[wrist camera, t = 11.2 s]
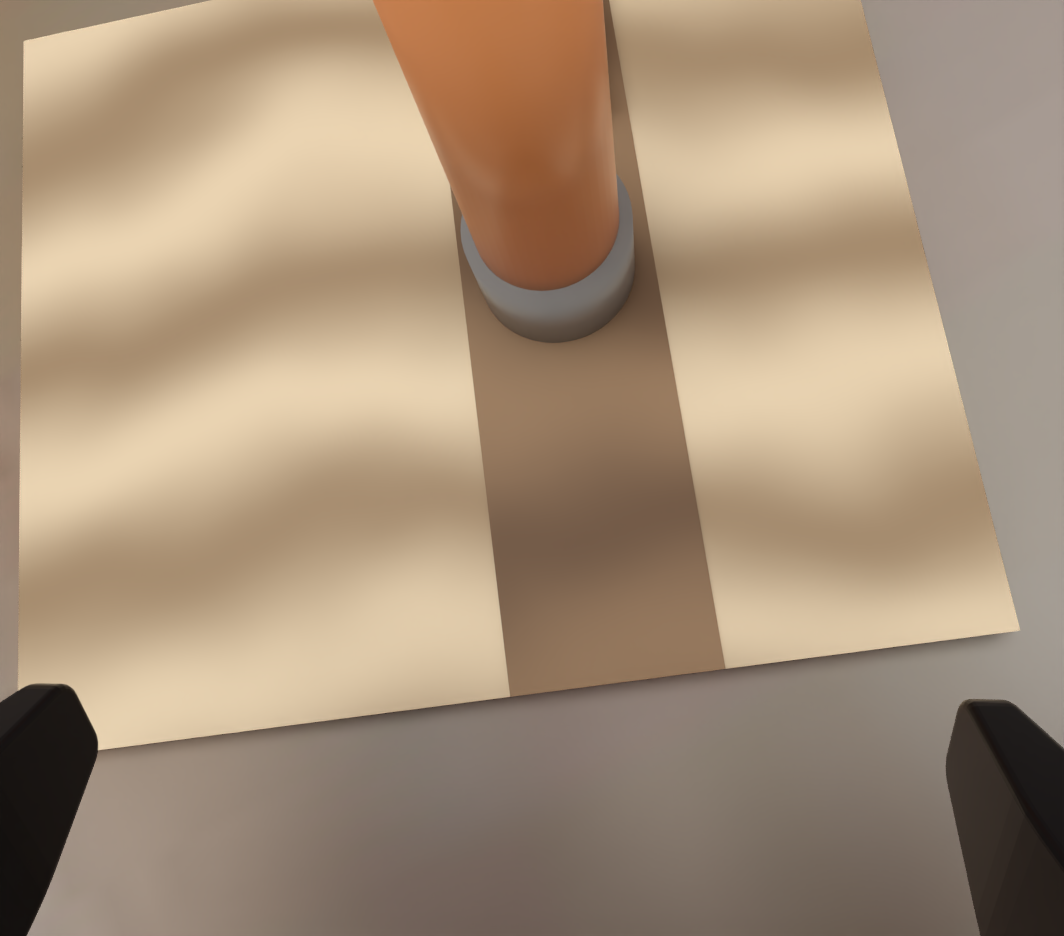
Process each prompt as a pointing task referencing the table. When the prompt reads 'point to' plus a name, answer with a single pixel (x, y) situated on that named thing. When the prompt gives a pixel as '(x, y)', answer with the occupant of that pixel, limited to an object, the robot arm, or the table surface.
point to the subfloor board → (469, 380)
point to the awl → (525, 152)
